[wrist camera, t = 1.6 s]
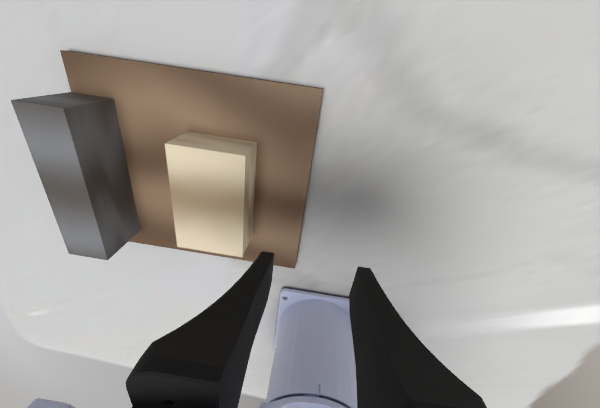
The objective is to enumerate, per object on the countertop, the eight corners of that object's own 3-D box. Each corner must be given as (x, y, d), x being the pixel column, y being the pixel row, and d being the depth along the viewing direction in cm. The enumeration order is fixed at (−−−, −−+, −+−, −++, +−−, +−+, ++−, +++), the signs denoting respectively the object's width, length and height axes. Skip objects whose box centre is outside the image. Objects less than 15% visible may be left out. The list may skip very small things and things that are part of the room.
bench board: (295, 263, 25) (289, 304, 21) (115, 234, 25) (74, 268, 21) (323, 88, 17) (321, 97, 13) (68, 50, 18) (-9, 48, 14)
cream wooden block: (252, 234, 23) (242, 257, 20) (194, 225, 23) (177, 246, 20) (257, 142, 19) (245, 156, 16) (187, 131, 19) (164, 143, 16)
